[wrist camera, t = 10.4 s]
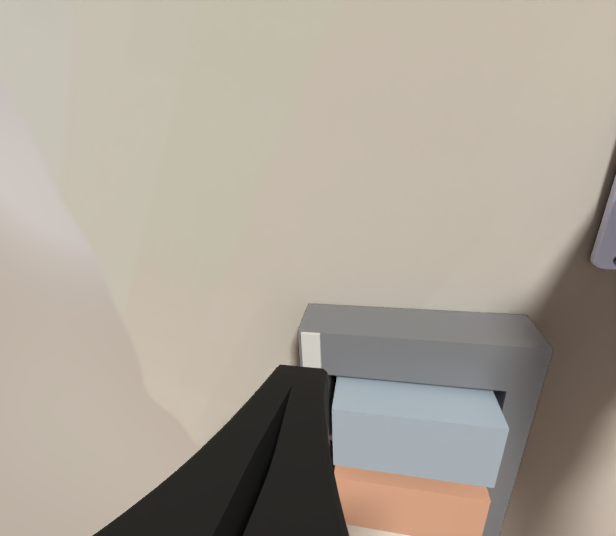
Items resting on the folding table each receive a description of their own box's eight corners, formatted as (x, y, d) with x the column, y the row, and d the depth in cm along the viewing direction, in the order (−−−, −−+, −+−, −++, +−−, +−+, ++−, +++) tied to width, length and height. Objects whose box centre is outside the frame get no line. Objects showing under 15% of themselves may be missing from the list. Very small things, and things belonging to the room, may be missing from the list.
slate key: (484, 372, 18) (509, 429, 15) (474, 425, 20) (494, 488, 17) (339, 359, 20) (331, 409, 16) (340, 410, 21) (333, 464, 18)
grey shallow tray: (527, 314, 18) (555, 351, 15) (473, 538, 26) (485, 590, 23) (308, 303, 20) (297, 333, 17) (319, 512, 28) (313, 556, 25)
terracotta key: (472, 437, 20) (490, 501, 17) (463, 481, 22) (478, 547, 18) (340, 421, 22) (333, 477, 18) (341, 463, 23) (334, 522, 20)
